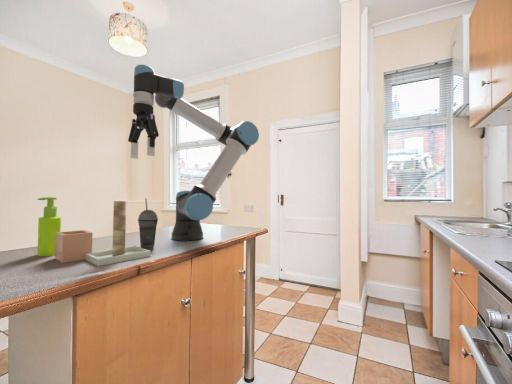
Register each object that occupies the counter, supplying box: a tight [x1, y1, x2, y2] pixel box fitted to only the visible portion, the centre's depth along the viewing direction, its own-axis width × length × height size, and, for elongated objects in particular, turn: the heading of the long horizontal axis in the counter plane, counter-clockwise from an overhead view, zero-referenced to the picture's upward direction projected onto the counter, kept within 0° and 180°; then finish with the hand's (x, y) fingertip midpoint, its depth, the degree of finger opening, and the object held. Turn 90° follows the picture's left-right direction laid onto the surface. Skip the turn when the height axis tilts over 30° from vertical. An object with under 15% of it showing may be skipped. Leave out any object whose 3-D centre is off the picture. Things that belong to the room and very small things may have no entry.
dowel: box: [112, 200, 127, 256], centre depth 82 cm, size 4×4×18 cm
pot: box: [54, 229, 93, 264], centre depth 80 cm, size 8×8×9 cm
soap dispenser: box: [37, 196, 62, 257], centre depth 84 cm, size 6×7×20 cm
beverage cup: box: [137, 198, 159, 251], centre depth 98 cm, size 7×7×20 cm
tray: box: [84, 245, 152, 267], centre depth 82 cm, size 16×11×3 cm
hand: (142, 157), depth 102 cm, fingers open, 13 cm apart
